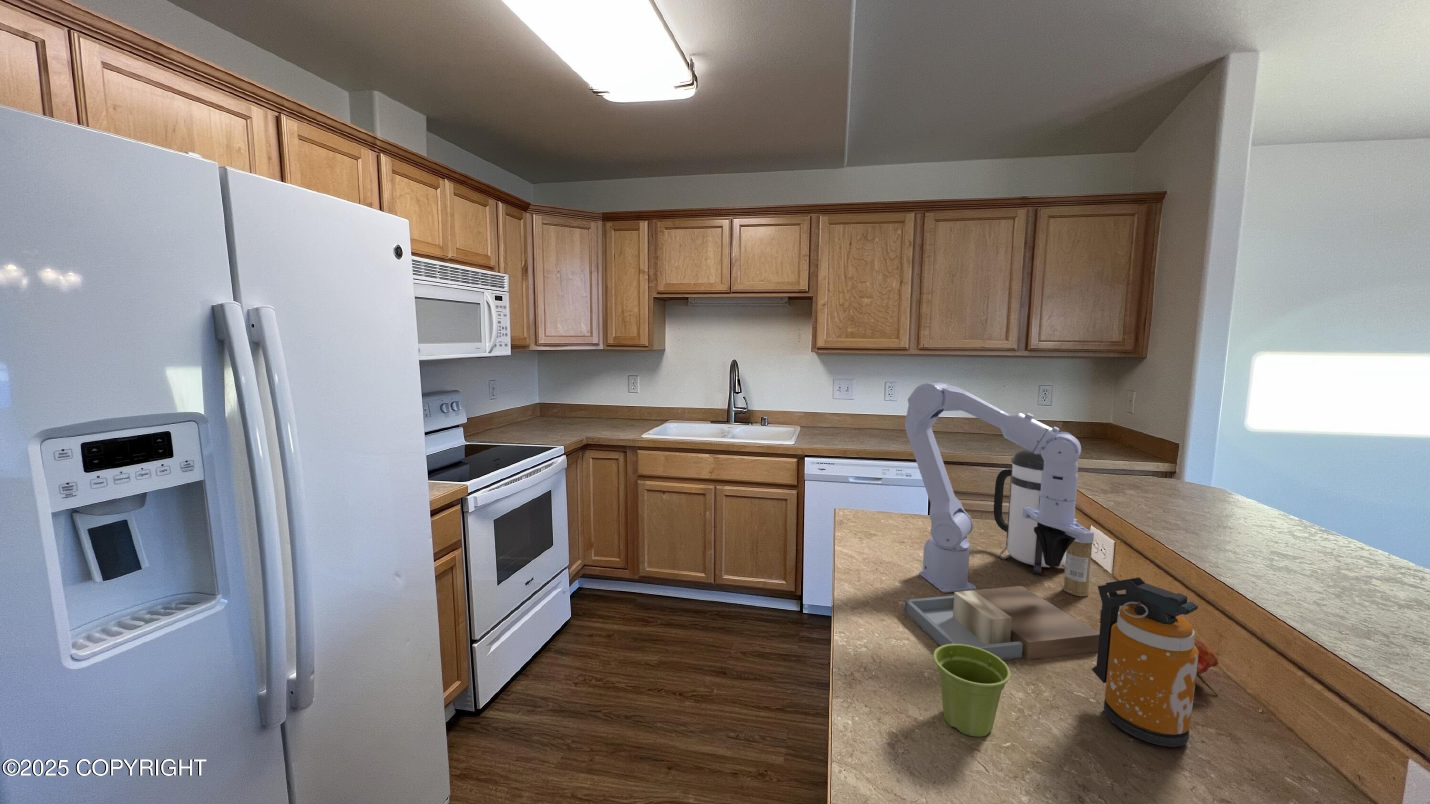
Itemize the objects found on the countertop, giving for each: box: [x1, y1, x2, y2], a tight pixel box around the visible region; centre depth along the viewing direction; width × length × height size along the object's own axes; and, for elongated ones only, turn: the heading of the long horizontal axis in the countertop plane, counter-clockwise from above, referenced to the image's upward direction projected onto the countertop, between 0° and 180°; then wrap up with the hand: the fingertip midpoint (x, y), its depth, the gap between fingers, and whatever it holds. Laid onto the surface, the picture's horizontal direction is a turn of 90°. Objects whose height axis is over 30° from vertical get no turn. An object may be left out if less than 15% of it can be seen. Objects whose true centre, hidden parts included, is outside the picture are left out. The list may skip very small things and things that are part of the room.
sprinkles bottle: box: [1062, 535, 1095, 597], centre depth 109 cm, size 5×5×14 cm
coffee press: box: [993, 448, 1067, 577], centre depth 123 cm, size 17×16×30 cm
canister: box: [1091, 576, 1199, 747], centre depth 71 cm, size 9×11×20 cm
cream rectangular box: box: [953, 591, 1012, 645], centre depth 94 cm, size 10×5×4 cm
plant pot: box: [933, 644, 1011, 738], centre depth 72 cm, size 9×9×9 cm
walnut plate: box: [958, 585, 1100, 660], centre depth 96 cm, size 18×14×3 cm
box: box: [904, 595, 1023, 661], centre depth 94 cm, size 17×11×2 cm
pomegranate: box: [1194, 637, 1220, 697], centre depth 80 cm, size 7×7×10 cm
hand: (1052, 565), depth 101 cm, fingers closed
